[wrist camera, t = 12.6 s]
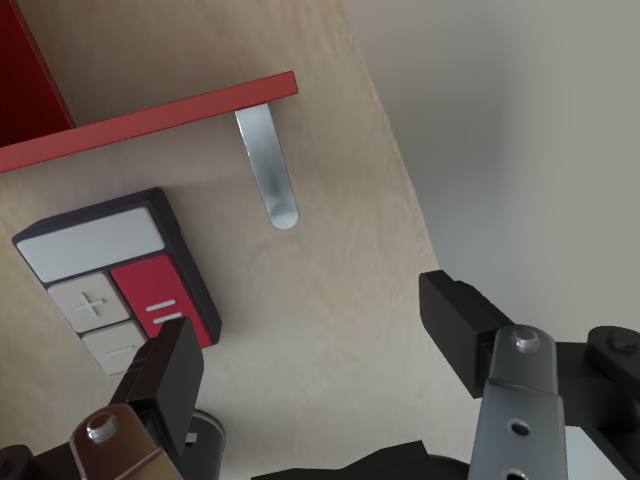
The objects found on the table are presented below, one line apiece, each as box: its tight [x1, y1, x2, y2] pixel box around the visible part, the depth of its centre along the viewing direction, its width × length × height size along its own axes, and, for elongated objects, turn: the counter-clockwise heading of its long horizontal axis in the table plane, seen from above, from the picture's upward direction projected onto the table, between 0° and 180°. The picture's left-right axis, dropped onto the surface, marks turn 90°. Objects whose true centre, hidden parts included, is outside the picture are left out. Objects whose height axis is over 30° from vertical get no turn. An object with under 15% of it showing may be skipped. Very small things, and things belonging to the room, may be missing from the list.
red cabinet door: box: [0, 71, 299, 230], centre depth 22 cm, size 7×16×17 cm, turn 104°
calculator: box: [12, 187, 222, 375], centre depth 31 cm, size 11×4×15 cm
